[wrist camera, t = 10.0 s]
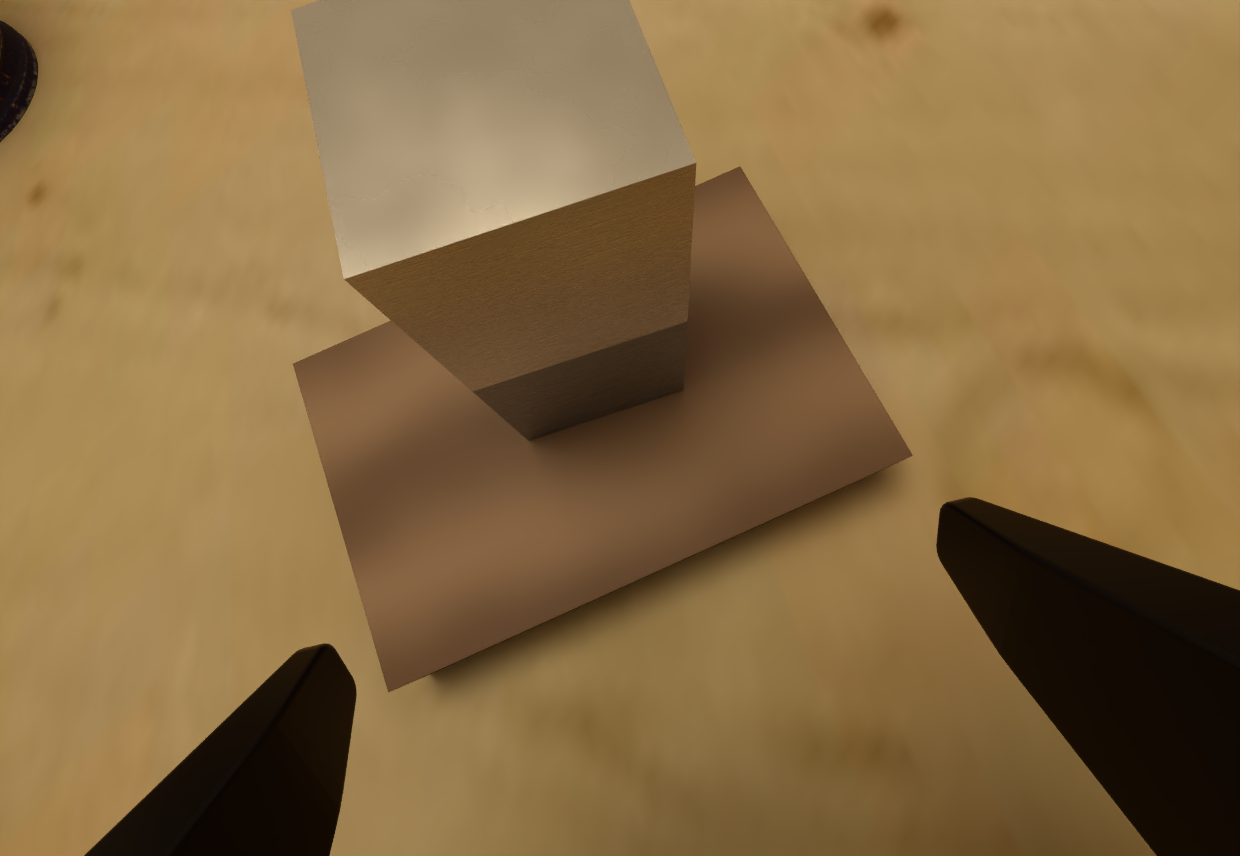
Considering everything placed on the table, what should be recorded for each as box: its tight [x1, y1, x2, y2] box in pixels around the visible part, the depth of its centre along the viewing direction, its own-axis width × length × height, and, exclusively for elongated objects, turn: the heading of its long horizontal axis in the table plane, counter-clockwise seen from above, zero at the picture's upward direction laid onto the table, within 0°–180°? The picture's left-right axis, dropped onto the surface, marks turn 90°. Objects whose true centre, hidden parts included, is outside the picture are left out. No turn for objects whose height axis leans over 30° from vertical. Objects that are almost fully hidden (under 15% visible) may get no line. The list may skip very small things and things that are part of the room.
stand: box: [293, 167, 913, 692], centre depth 21 cm, size 12×18×3 cm, turn 114°
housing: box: [291, 0, 696, 441], centre depth 14 cm, size 6×6×11 cm
